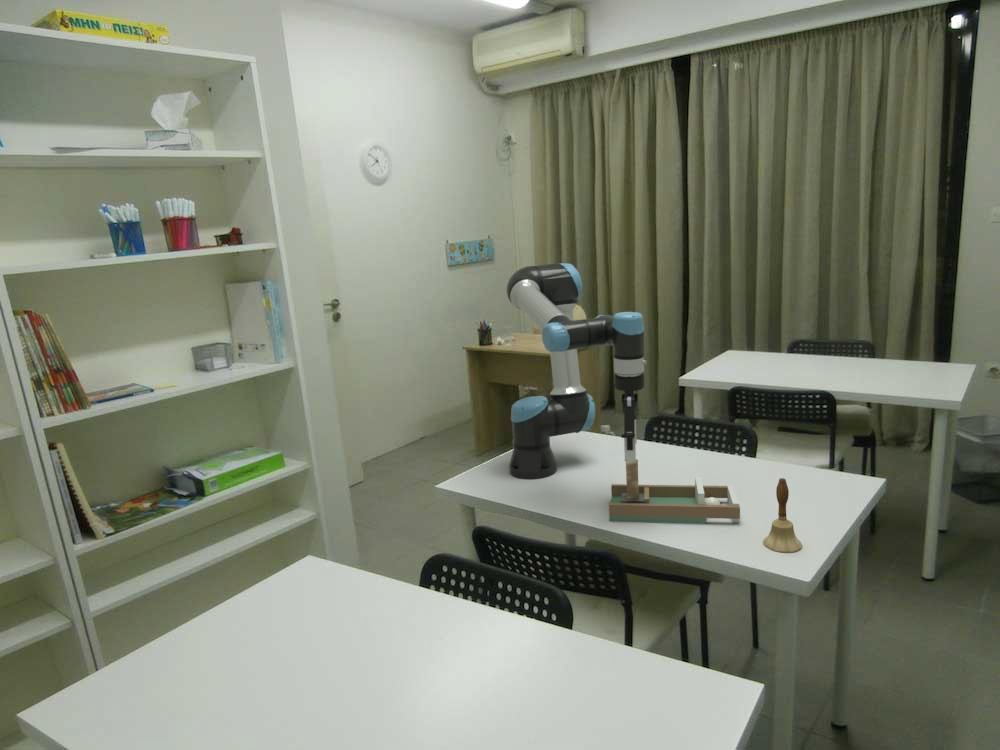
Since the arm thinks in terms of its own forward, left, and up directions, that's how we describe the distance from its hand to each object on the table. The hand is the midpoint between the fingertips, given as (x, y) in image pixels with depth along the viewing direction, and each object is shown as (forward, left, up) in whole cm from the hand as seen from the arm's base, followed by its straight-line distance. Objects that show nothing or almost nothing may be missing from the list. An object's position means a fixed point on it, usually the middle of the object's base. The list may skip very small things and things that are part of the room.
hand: (630, 452), depth 172 cm
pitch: (+10, 0, -16) cm, 19 cm away
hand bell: (+34, -17, -17) cm, 42 cm away
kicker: (+1, 0, -15) cm, 14 cm away
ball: (+20, 0, -14) cm, 25 cm away
